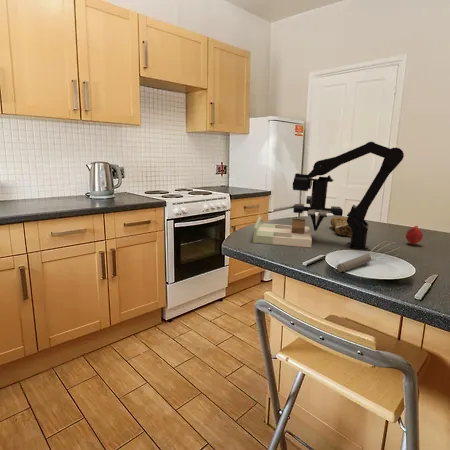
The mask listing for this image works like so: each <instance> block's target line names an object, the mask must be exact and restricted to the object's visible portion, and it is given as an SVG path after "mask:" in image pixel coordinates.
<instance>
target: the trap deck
mask: <svg viewBox="0 0 450 450" xmlns="http://www.w3.org/2000/svg"><path fill="white" fill-rule="evenodd" d="M252 238H253V239H252V243H253V244H254V243H255V244H266V245H276V246H287V247H288V246H289V247H299V248H312V243H313V241H312V234H311V229H310V226H305V231H304V234H299V233H292V224H290V225H289V224H277V223H276V224H275V223H264V222H263V223H262V216H258V218H257V220H256V222H255V224H254V227H253V237H252Z"/></svg>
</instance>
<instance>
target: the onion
mask: <svg viewBox="0 0 450 450" xmlns="http://www.w3.org/2000/svg"><path fill="white" fill-rule="evenodd" d="M418 227H419V225H414V226H413V227H411V228H409V229H408V230H407V231H406V233H405V239H406V240H407V242H408V243H409V244H410V245H412V246H414V245H416V244H418V243H419V242H421V241H422V239H423V236H424V235H423V232H422V230H421V229H419V228H418Z"/></svg>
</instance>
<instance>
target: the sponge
mask: <svg viewBox="0 0 450 450" xmlns="http://www.w3.org/2000/svg"><path fill="white" fill-rule="evenodd" d="M347 218H348V216H333V217H332V218H331V219H330V220H329V221H330V222H329V223H330V225H331V227H333V228H334V230H335V233H337V234H338V235H341V236H347V237H348V238H351V232H352V229H351V227H350V226H349V225H348V223H347Z"/></svg>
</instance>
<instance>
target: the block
mask: <svg viewBox="0 0 450 450" xmlns="http://www.w3.org/2000/svg"><path fill="white" fill-rule="evenodd" d="M291 225H292V233H299V234H304V231H305V227H306V219H305V218H292V222H291Z"/></svg>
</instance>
